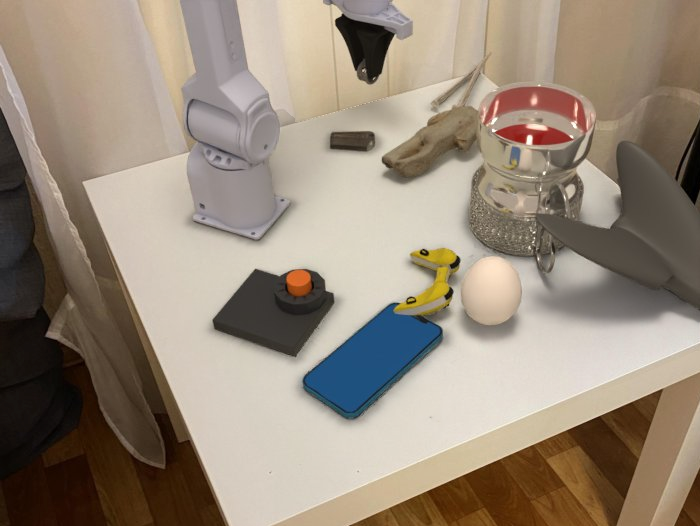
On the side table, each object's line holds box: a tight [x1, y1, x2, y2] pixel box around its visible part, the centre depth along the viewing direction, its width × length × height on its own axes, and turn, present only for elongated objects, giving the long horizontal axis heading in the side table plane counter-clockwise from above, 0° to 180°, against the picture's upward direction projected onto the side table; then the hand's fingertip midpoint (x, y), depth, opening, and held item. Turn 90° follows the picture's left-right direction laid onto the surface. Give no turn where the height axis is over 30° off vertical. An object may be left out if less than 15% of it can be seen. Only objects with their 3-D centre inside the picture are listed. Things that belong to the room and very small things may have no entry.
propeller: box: [536, 140, 700, 311], centre depth 90 cm, size 23×25×9 cm
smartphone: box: [301, 302, 444, 419], centre depth 87 cm, size 7×1×15 cm
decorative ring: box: [356, 59, 380, 86], centre depth 114 cm, size 3×2×3 cm
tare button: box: [286, 269, 312, 296], centre depth 91 cm, size 3×3×2 cm
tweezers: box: [430, 51, 492, 110], centre depth 122 cm, size 17×5×2 cm, turn 154°
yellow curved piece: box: [393, 247, 462, 316], centre depth 94 cm, size 10×4×10 cm
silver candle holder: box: [468, 80, 597, 275], centre depth 95 cm, size 13×18×15 cm
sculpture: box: [381, 105, 478, 178], centre depth 110 cm, size 7×5×15 cm
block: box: [329, 130, 376, 152], centre depth 113 cm, size 4×6×2 cm, turn 88°
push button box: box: [211, 268, 335, 357], centre depth 92 cm, size 10×10×3 cm
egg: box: [460, 255, 523, 326], centre depth 89 cm, size 6×6×8 cm
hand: (368, 72), depth 114 cm, fingers closed on decorative ring, 2 cm apart
